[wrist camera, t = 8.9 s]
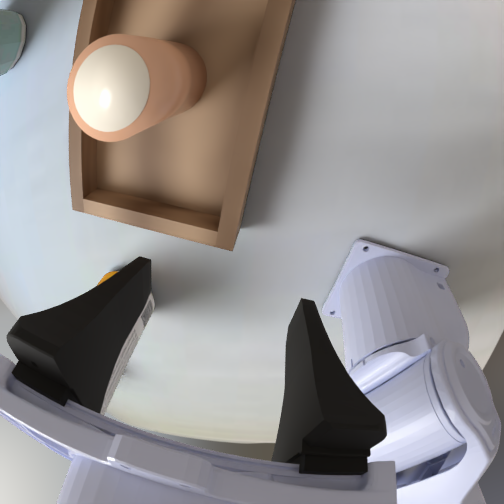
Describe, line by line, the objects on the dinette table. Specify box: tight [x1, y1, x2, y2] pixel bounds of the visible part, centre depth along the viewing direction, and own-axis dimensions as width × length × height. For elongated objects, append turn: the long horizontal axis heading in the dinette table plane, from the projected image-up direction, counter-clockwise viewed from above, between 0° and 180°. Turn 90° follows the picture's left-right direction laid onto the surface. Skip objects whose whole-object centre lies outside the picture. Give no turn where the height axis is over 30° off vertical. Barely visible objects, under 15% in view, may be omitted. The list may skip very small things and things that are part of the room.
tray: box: [69, 0, 296, 251], centre depth 16 cm, size 13×20×3 cm, turn 168°
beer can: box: [97, 271, 155, 415], centre depth 22 cm, size 6×6×15 cm
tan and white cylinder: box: [67, 34, 207, 142], centre depth 13 cm, size 5×5×7 cm
